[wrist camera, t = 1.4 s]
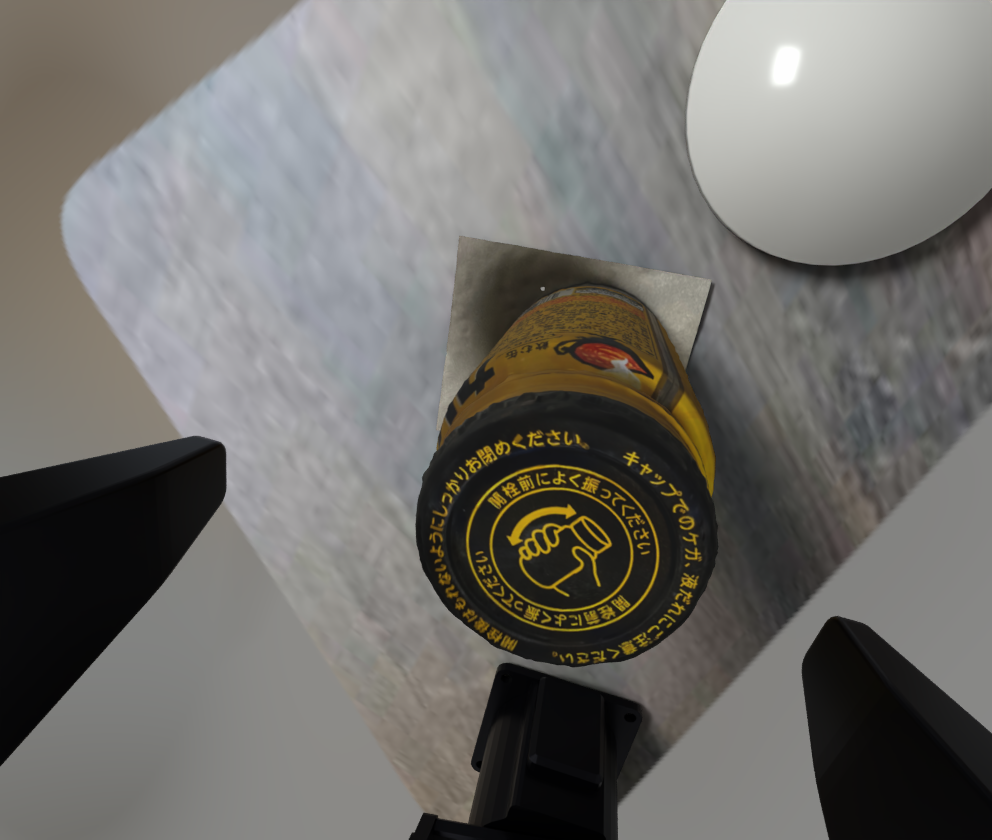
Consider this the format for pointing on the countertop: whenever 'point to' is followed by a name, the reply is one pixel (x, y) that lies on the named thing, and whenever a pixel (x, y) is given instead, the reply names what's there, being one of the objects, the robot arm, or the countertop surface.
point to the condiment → (569, 456)
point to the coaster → (842, 123)
